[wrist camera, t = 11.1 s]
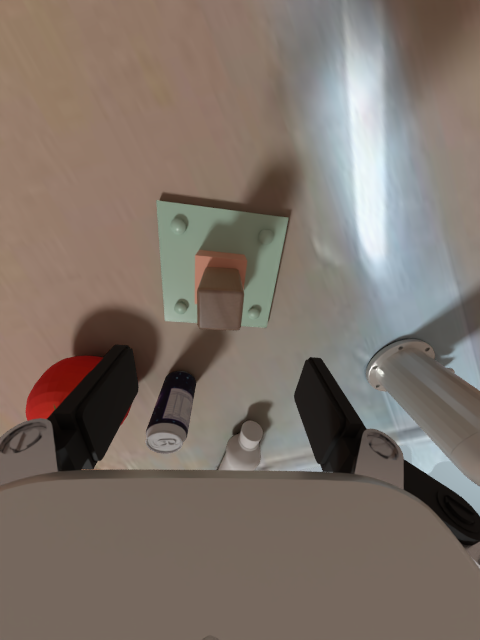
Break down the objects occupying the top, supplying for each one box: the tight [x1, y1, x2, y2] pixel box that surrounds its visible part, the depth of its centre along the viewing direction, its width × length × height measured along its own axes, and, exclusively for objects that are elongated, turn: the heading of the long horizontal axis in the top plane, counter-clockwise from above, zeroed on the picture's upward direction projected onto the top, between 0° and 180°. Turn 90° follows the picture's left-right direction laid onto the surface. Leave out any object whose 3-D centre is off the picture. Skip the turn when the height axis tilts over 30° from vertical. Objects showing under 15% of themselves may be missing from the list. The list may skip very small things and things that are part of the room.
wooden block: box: [197, 267, 244, 330], centre depth 21 cm, size 4×4×8 cm
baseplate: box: [156, 200, 289, 328], centre depth 28 cm, size 16×16×2 cm
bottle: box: [218, 421, 263, 471], centre depth 47 cm, size 9×9×30 cm
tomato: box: [26, 356, 132, 424], centre depth 31 cm, size 13×14×12 cm
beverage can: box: [146, 371, 196, 454], centre depth 32 cm, size 6×6×12 cm
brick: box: [195, 250, 247, 304], centre depth 26 cm, size 6×6×4 cm
